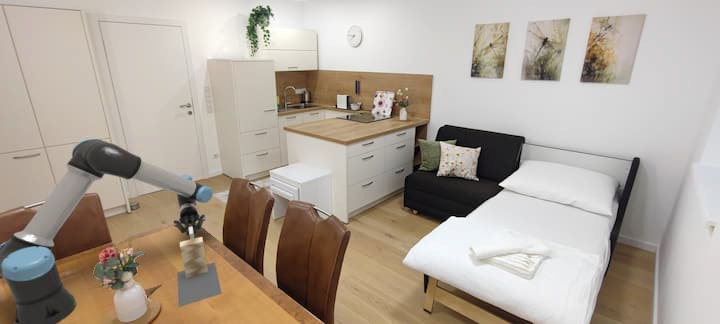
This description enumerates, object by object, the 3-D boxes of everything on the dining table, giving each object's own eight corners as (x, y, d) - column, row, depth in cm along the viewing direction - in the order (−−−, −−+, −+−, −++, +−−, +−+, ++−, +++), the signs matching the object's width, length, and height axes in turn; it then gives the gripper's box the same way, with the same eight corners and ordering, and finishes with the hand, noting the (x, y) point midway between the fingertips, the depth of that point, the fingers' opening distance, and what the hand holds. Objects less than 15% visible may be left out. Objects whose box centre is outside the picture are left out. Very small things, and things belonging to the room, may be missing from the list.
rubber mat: (178, 308, 114) (178, 307, 113) (177, 274, 132) (177, 272, 132) (221, 295, 120) (221, 293, 120) (215, 263, 138) (214, 262, 138)
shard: (163, 287, 125) (162, 283, 125) (164, 299, 119) (163, 295, 119) (129, 298, 120) (127, 294, 119) (128, 311, 114) (127, 307, 113)
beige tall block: (186, 278, 128) (179, 247, 124) (185, 272, 132) (179, 241, 128) (208, 271, 132) (203, 241, 128) (207, 266, 136) (202, 236, 131)
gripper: (205, 217, 159) (210, 240, 139) (174, 224, 153) (175, 248, 133) (202, 203, 156) (207, 224, 137) (171, 209, 150) (172, 232, 131)
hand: (191, 236), depth 135 cm, fingers closed
